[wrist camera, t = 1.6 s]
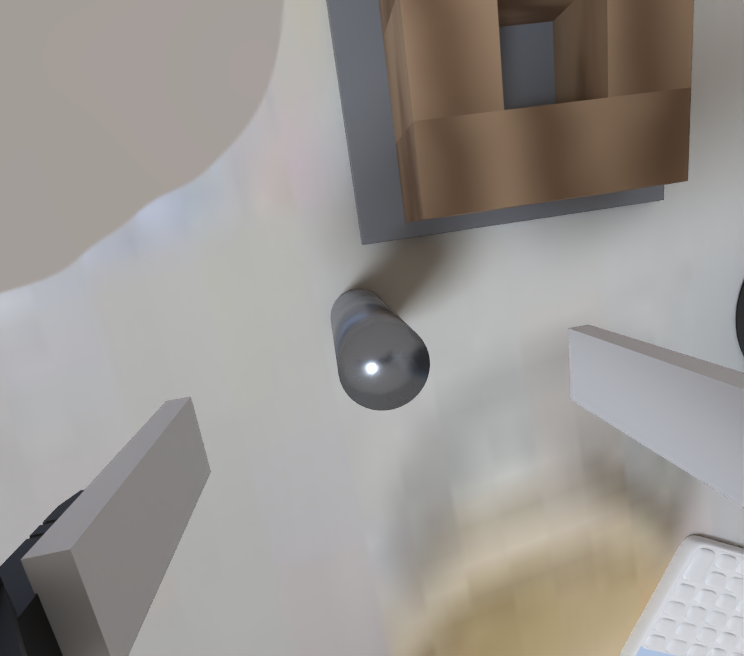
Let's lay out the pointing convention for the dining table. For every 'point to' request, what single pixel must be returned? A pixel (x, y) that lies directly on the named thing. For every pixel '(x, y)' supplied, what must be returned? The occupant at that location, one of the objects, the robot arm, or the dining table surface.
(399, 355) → the peg
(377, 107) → the socket
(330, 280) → the dining table surface
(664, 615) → the calculator
